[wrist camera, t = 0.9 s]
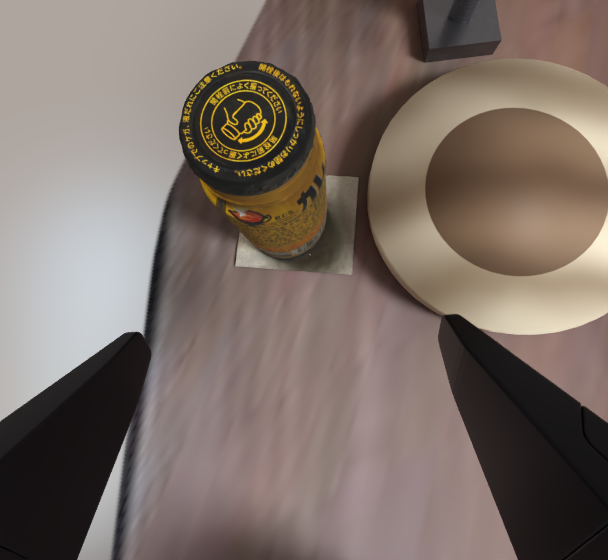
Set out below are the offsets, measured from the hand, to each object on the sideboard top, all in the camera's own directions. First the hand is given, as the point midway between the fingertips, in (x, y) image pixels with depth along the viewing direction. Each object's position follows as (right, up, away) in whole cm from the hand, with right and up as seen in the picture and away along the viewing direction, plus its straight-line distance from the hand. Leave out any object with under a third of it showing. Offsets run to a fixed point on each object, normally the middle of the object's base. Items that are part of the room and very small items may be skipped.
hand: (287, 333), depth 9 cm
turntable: (+14, +7, +12) cm, 20 cm away
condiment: (0, +6, +14) cm, 15 cm away
